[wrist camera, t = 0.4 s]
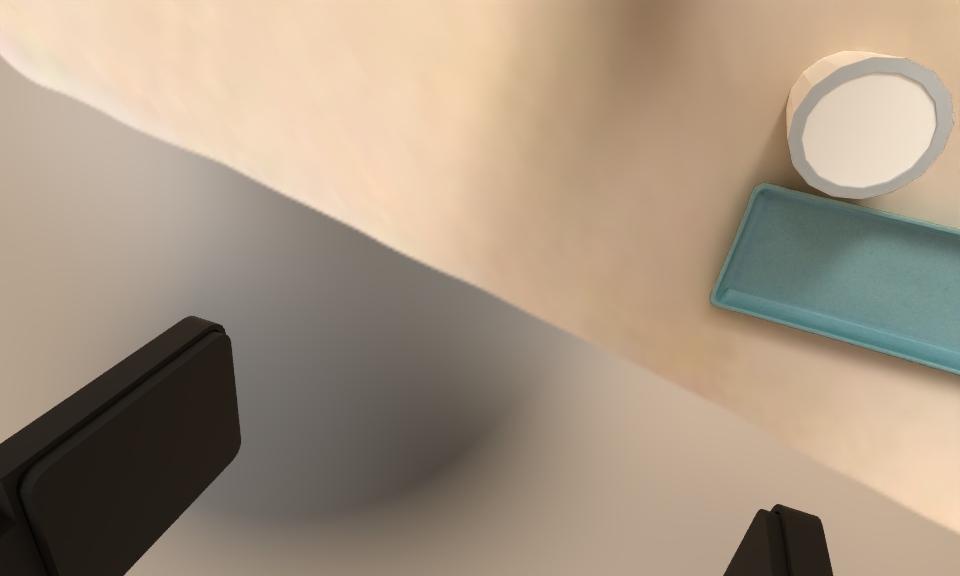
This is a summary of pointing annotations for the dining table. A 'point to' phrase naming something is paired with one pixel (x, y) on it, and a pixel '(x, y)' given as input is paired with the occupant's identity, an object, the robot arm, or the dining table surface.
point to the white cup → (866, 123)
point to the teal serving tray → (847, 275)
